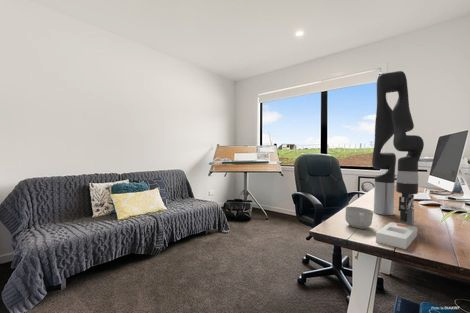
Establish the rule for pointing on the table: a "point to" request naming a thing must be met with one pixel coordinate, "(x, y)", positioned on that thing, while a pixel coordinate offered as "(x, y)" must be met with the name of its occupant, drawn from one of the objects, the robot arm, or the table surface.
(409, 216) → the charger
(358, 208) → the teacup
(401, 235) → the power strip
